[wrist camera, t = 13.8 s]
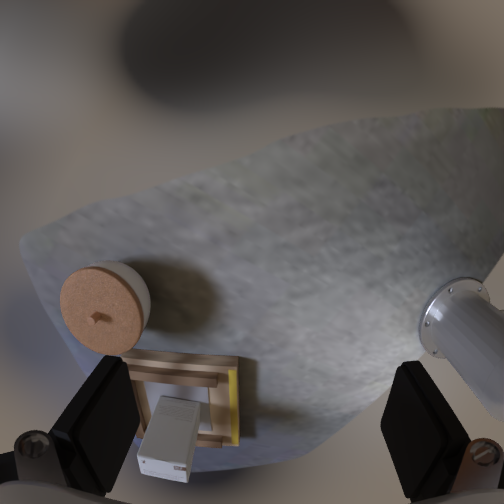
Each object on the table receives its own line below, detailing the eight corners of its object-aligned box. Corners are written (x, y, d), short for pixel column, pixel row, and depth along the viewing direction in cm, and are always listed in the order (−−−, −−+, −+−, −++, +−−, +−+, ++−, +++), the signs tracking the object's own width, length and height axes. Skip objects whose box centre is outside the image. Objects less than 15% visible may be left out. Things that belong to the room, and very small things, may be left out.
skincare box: (161, 414, 42) (138, 475, 31) (159, 392, 41) (133, 455, 29) (202, 421, 42) (188, 485, 31) (202, 400, 41) (186, 466, 29)
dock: (238, 356, 42) (236, 373, 38) (240, 435, 46) (238, 453, 42) (126, 347, 42) (116, 362, 39) (144, 425, 47) (138, 441, 43)
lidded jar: (175, 314, 41) (153, 352, 32) (111, 333, 42) (82, 370, 33) (139, 237, 38) (106, 259, 29) (77, 265, 40) (37, 290, 30)
